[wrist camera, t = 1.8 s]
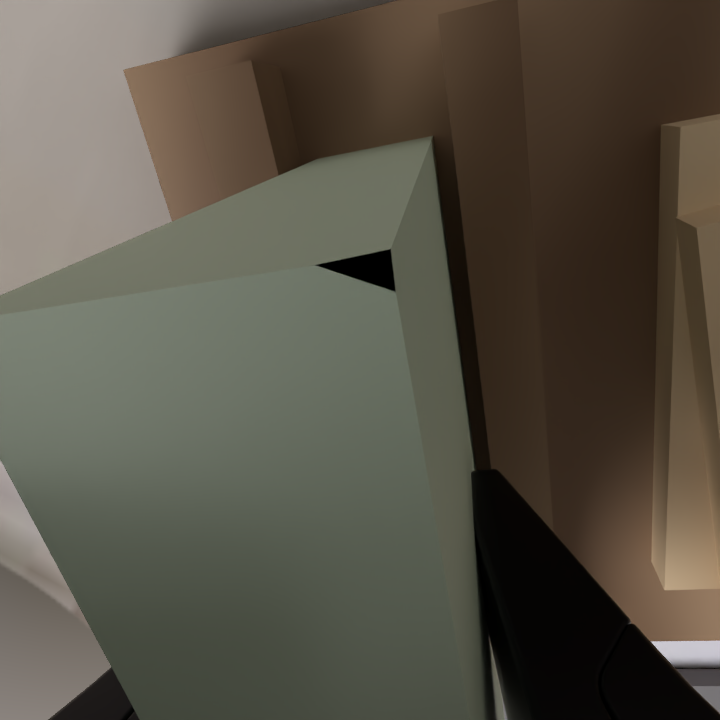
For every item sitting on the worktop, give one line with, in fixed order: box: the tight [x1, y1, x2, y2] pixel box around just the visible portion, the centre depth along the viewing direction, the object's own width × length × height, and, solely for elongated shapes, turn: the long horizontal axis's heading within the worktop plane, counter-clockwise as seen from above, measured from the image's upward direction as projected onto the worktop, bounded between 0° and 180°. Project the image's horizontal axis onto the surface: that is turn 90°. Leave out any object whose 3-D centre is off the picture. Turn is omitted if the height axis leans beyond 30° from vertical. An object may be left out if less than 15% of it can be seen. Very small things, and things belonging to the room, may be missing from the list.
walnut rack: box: [124, 0, 720, 641], centre depth 10 cm, size 16×14×4 cm
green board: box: [0, 136, 505, 720], centre depth 8 cm, size 2×10×8 cm, turn 11°
